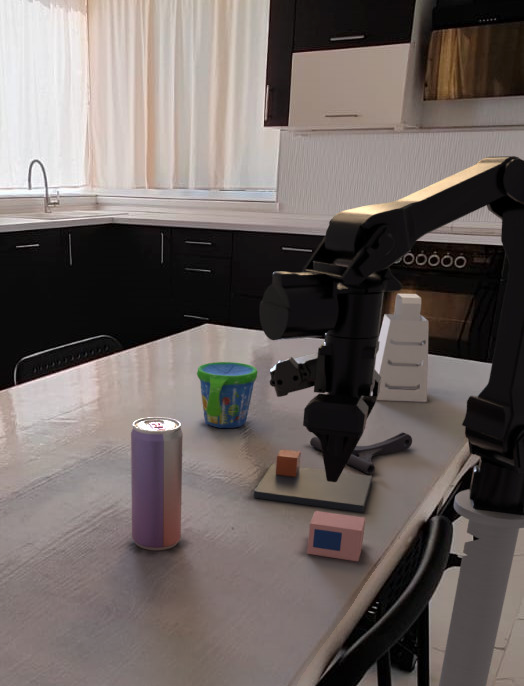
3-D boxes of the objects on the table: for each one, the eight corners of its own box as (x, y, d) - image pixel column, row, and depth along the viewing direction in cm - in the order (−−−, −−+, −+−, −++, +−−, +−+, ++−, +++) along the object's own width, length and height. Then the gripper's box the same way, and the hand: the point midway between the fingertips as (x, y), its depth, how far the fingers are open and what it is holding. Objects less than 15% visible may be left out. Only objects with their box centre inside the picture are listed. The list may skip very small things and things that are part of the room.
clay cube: (299, 470, 115) (300, 451, 114) (295, 477, 112) (297, 457, 111) (279, 468, 116) (280, 449, 115) (275, 474, 113) (276, 455, 112)
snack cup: (235, 439, 132) (238, 381, 127) (180, 430, 136) (181, 373, 132) (267, 416, 144) (270, 362, 140) (215, 409, 149) (217, 356, 145)
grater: (416, 388, 165) (430, 292, 157) (426, 401, 155) (442, 300, 147) (367, 387, 166) (378, 291, 158) (373, 399, 156) (386, 298, 148)
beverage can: (138, 554, 91) (137, 433, 85) (127, 534, 96) (125, 418, 90) (186, 549, 92) (189, 429, 86) (173, 529, 98) (174, 414, 92)
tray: (371, 482, 114) (372, 475, 113) (362, 512, 103) (363, 505, 103) (271, 469, 118) (271, 463, 118) (253, 497, 108) (254, 491, 107)
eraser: (361, 547, 93) (365, 517, 92) (358, 562, 90) (362, 530, 88) (312, 540, 95) (315, 510, 94) (306, 554, 92) (309, 523, 90)
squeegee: (440, 461, 122) (442, 444, 121) (365, 475, 116) (367, 457, 115) (379, 436, 134) (381, 421, 133) (309, 447, 128) (310, 431, 127)
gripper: (295, 316, 95) (285, 437, 101) (259, 343, 78) (251, 486, 85) (388, 322, 91) (372, 447, 97) (371, 352, 75) (354, 500, 81)
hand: (337, 468), depth 90 cm, fingers open, 9 cm apart
